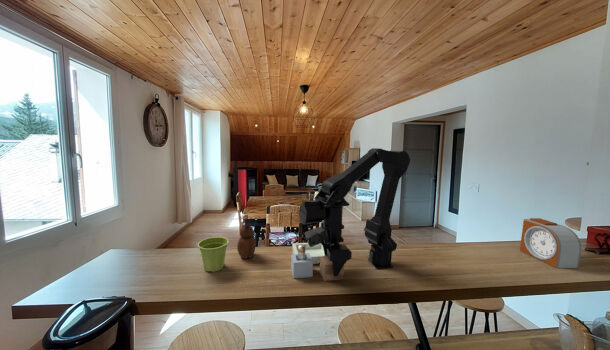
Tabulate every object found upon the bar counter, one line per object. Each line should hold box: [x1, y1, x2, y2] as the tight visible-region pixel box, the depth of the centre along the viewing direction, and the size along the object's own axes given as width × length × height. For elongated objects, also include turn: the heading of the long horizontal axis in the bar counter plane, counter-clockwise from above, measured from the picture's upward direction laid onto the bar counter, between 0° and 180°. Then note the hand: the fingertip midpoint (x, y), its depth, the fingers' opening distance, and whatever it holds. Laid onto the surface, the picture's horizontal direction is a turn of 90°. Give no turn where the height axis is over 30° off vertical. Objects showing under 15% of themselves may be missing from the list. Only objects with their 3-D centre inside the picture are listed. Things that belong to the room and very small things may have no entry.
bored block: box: [290, 253, 314, 279], centre depth 77 cm, size 6×6×5 cm
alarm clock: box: [519, 217, 582, 269], centre depth 89 cm, size 15×8×14 cm, turn 2°
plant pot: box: [197, 236, 230, 273], centre depth 79 cm, size 9×9×9 cm
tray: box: [291, 242, 325, 265], centre depth 88 cm, size 12×12×3 cm
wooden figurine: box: [236, 217, 257, 259], centre depth 87 cm, size 7×6×15 cm
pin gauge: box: [298, 244, 306, 261], centre depth 76 cm, size 2×2×9 cm
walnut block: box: [319, 256, 345, 282], centre depth 76 cm, size 6×6×5 cm
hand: (331, 268), depth 76 cm, fingers open, 9 cm apart
